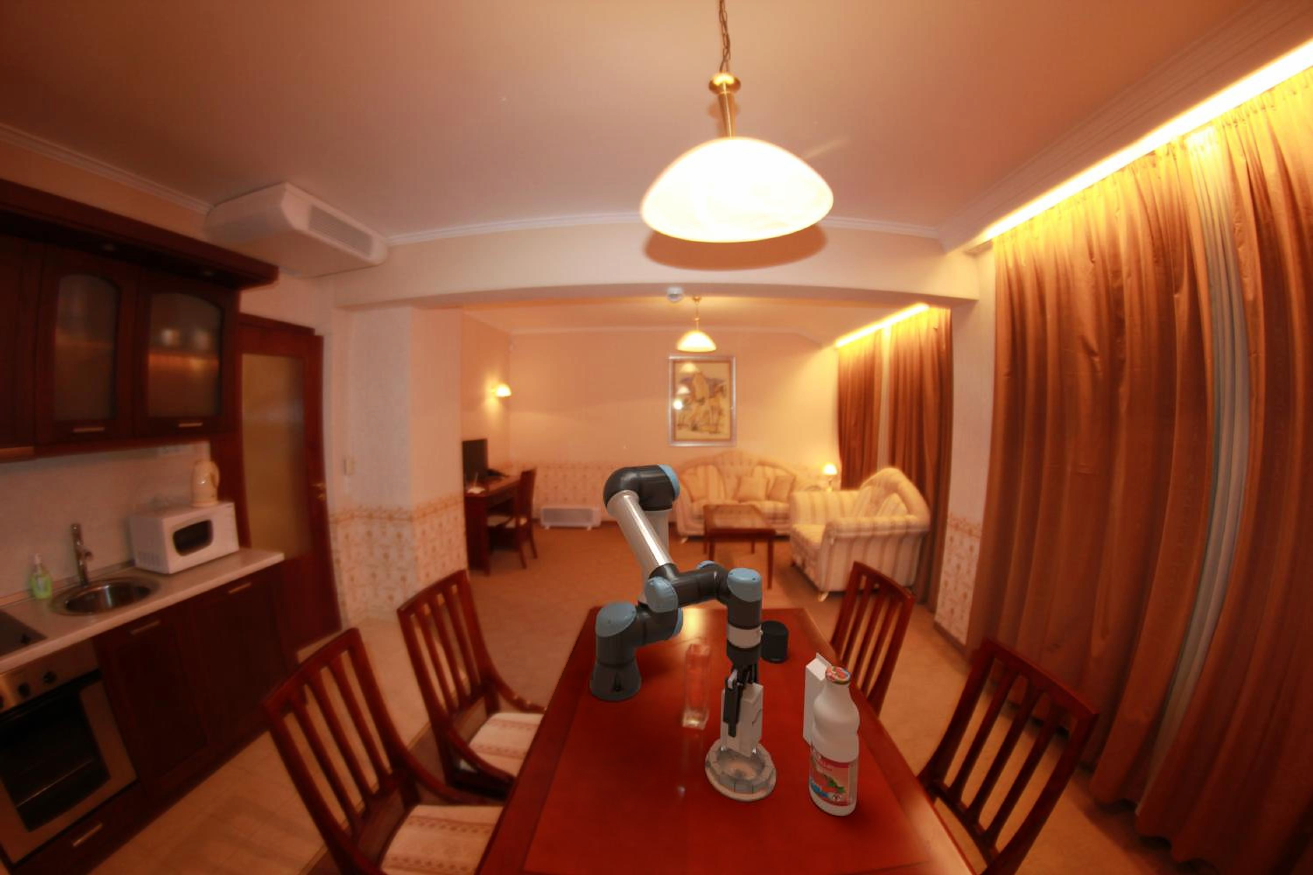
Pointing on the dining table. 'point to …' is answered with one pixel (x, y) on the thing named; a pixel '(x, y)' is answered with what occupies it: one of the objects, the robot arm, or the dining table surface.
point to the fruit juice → (834, 746)
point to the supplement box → (746, 719)
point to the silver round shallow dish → (740, 772)
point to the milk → (813, 691)
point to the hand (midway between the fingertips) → (741, 735)
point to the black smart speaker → (774, 641)
